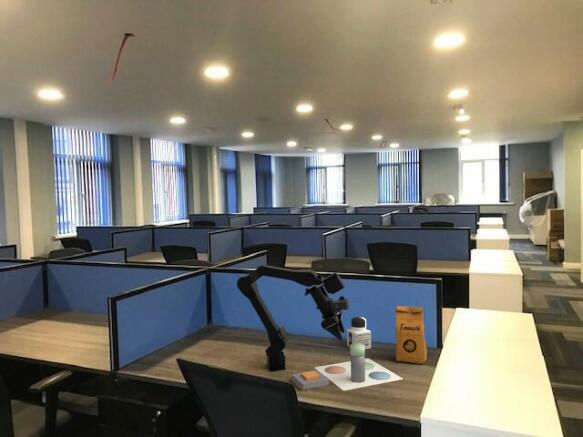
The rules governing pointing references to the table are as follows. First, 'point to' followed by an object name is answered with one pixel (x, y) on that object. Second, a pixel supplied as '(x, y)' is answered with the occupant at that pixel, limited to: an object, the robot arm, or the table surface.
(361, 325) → the container
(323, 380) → the button housing
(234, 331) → the table surface
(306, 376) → the button
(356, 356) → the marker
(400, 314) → the coffee package
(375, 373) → the white square board
